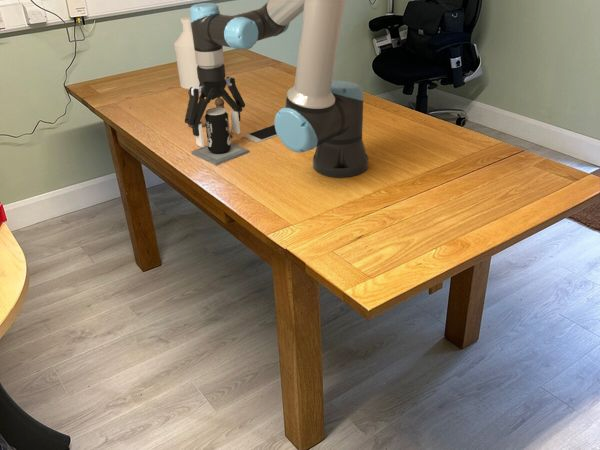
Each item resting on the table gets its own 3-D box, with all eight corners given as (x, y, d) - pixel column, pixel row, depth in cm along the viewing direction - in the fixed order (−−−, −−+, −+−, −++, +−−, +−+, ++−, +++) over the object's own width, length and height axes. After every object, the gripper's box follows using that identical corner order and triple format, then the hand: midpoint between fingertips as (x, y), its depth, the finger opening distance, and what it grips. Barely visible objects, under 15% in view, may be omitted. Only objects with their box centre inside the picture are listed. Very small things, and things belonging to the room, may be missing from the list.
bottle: (207, 88, 224) (200, 21, 212) (177, 89, 225) (167, 22, 212) (212, 79, 235) (205, 14, 222) (182, 80, 235) (173, 15, 222)
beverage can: (226, 155, 167) (223, 115, 161) (205, 154, 169) (200, 114, 163) (234, 146, 173) (230, 107, 167) (212, 145, 174) (209, 106, 168)
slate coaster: (249, 152, 171) (249, 149, 171) (216, 165, 164) (216, 162, 164) (224, 141, 179) (223, 139, 178) (191, 153, 172) (191, 151, 171)
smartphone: (242, 138, 182) (242, 135, 181) (280, 124, 191) (280, 121, 190) (257, 144, 177) (257, 141, 177) (295, 130, 186) (295, 127, 185)
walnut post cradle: (232, 137, 182) (228, 97, 175) (222, 141, 179) (217, 101, 173) (198, 123, 193) (193, 85, 187) (188, 126, 191) (183, 88, 184)
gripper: (237, 52, 168) (243, 124, 179) (164, 72, 153) (175, 148, 164) (253, 57, 163) (259, 130, 174) (180, 77, 149) (191, 155, 160)
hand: (218, 139), depth 169 cm, fingers open, 12 cm apart
